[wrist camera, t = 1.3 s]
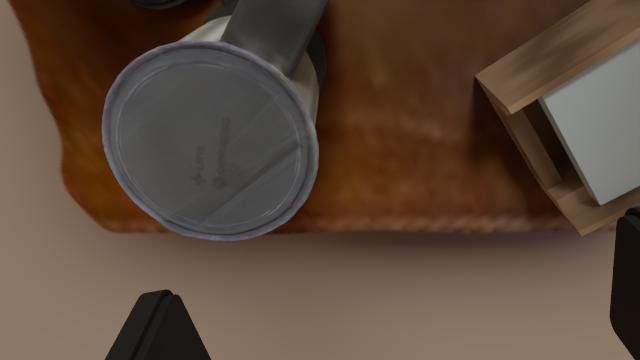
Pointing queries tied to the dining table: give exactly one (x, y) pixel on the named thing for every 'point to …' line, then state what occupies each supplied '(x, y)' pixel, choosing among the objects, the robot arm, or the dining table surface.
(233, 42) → the milk frother
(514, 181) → the dining table surface
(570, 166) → the walnut box
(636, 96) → the cover plate
